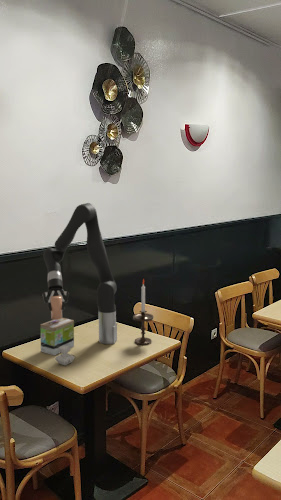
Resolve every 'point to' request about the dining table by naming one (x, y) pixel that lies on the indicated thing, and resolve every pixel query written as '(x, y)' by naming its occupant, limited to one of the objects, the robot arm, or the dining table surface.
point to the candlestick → (143, 317)
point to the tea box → (57, 335)
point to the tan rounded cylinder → (56, 307)
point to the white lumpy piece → (64, 356)
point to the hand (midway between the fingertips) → (56, 310)
